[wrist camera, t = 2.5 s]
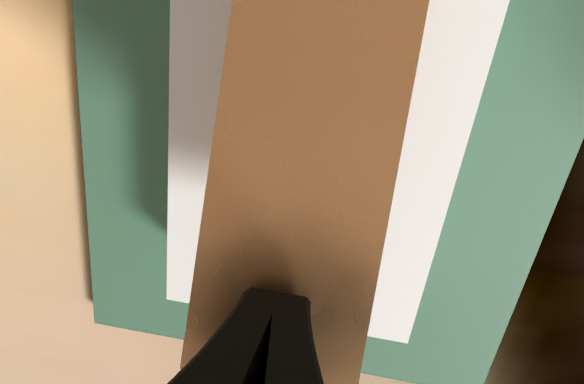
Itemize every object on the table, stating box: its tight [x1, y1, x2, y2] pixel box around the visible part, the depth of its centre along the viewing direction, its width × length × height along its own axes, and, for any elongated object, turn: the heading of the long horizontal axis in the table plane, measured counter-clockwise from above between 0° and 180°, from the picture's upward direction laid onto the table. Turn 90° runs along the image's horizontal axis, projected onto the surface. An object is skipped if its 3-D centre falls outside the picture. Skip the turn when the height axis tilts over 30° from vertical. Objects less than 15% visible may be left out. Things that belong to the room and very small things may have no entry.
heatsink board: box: [72, 0, 584, 384], centre depth 15 cm, size 16×26×5 cm, turn 173°
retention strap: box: [180, 0, 429, 384], centre depth 12 cm, size 4×12×1 cm, turn 173°
